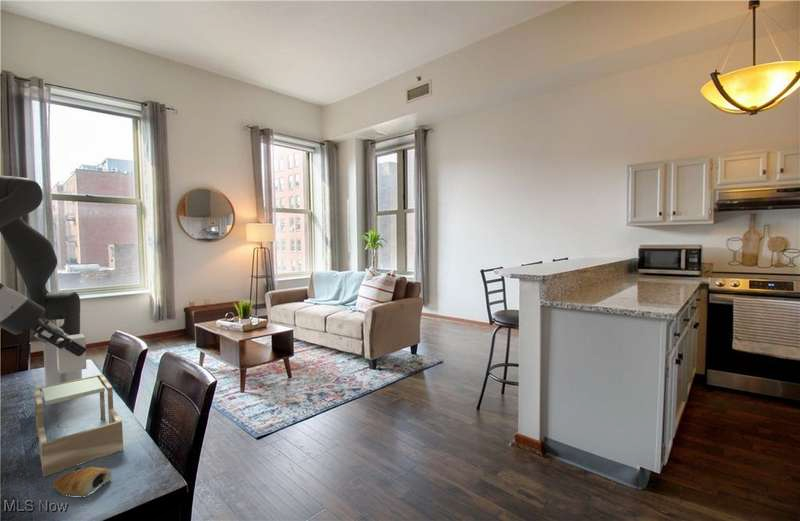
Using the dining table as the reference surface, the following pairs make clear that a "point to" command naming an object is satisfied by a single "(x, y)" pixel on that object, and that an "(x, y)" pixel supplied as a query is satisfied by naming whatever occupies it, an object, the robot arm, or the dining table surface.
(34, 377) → the dining table surface
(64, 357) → the white rectangular block
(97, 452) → the trapdoor frame
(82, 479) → the pastry
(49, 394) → the trapdoor
